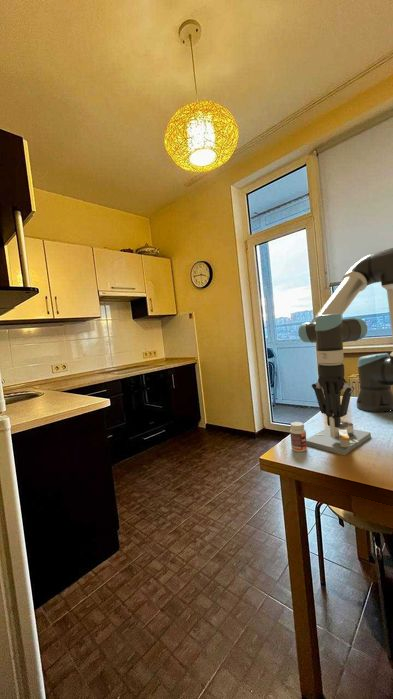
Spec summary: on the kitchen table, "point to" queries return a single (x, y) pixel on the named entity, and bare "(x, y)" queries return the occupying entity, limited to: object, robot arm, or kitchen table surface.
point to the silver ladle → (345, 433)
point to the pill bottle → (298, 437)
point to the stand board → (337, 441)
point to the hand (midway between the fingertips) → (334, 436)
